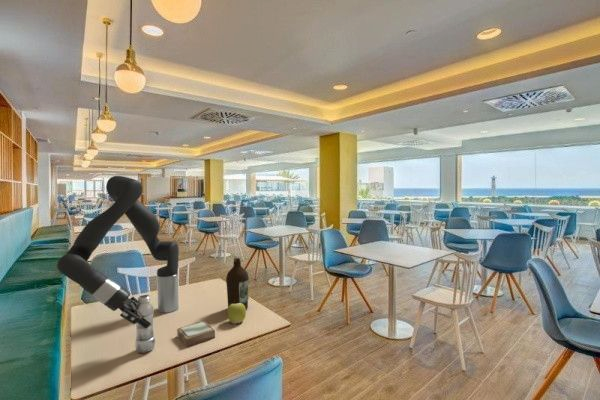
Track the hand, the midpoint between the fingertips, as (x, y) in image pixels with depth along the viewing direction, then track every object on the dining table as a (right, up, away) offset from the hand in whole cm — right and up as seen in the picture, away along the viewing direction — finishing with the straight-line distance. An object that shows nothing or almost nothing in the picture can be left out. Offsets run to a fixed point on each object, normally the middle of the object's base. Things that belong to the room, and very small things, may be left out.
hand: (149, 322), depth 113 cm
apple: (+27, -9, +23) cm, 37 cm away
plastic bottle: (-2, -11, 0) cm, 11 cm away
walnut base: (+14, -10, +10) cm, 20 cm away
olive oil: (+25, -9, +37) cm, 46 cm away
